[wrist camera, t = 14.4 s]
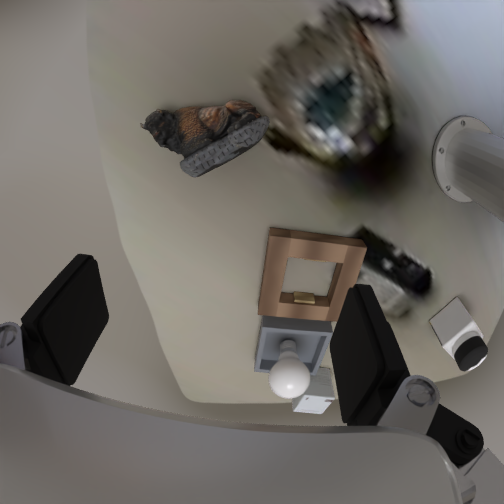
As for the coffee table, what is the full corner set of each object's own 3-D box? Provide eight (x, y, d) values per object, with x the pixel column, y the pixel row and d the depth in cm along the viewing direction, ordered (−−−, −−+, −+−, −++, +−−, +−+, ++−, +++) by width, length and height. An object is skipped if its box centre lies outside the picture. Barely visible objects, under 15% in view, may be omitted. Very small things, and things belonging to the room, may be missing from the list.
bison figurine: (276, 126, 34) (227, 60, 30) (279, 136, 28) (219, 55, 24) (197, 179, 38) (149, 119, 33) (184, 200, 32) (127, 129, 27)
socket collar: (361, 239, 40) (366, 247, 38) (338, 311, 46) (341, 321, 44) (269, 227, 40) (269, 235, 38) (258, 304, 46) (257, 314, 44)
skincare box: (290, 381, 56) (291, 412, 49) (301, 363, 53) (304, 395, 47) (318, 385, 56) (321, 414, 50) (330, 367, 53) (335, 398, 47)
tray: (330, 320, 47) (332, 332, 45) (314, 363, 53) (315, 375, 50) (262, 314, 47) (262, 327, 45) (254, 358, 53) (254, 371, 50)
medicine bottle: (428, 320, 47) (452, 368, 37) (456, 295, 44) (486, 340, 34) (442, 335, 49) (464, 380, 39) (468, 312, 46) (495, 355, 36)
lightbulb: (312, 346, 50) (318, 397, 40) (281, 359, 51) (281, 410, 42) (295, 323, 47) (299, 377, 38) (262, 338, 49) (259, 391, 39)
